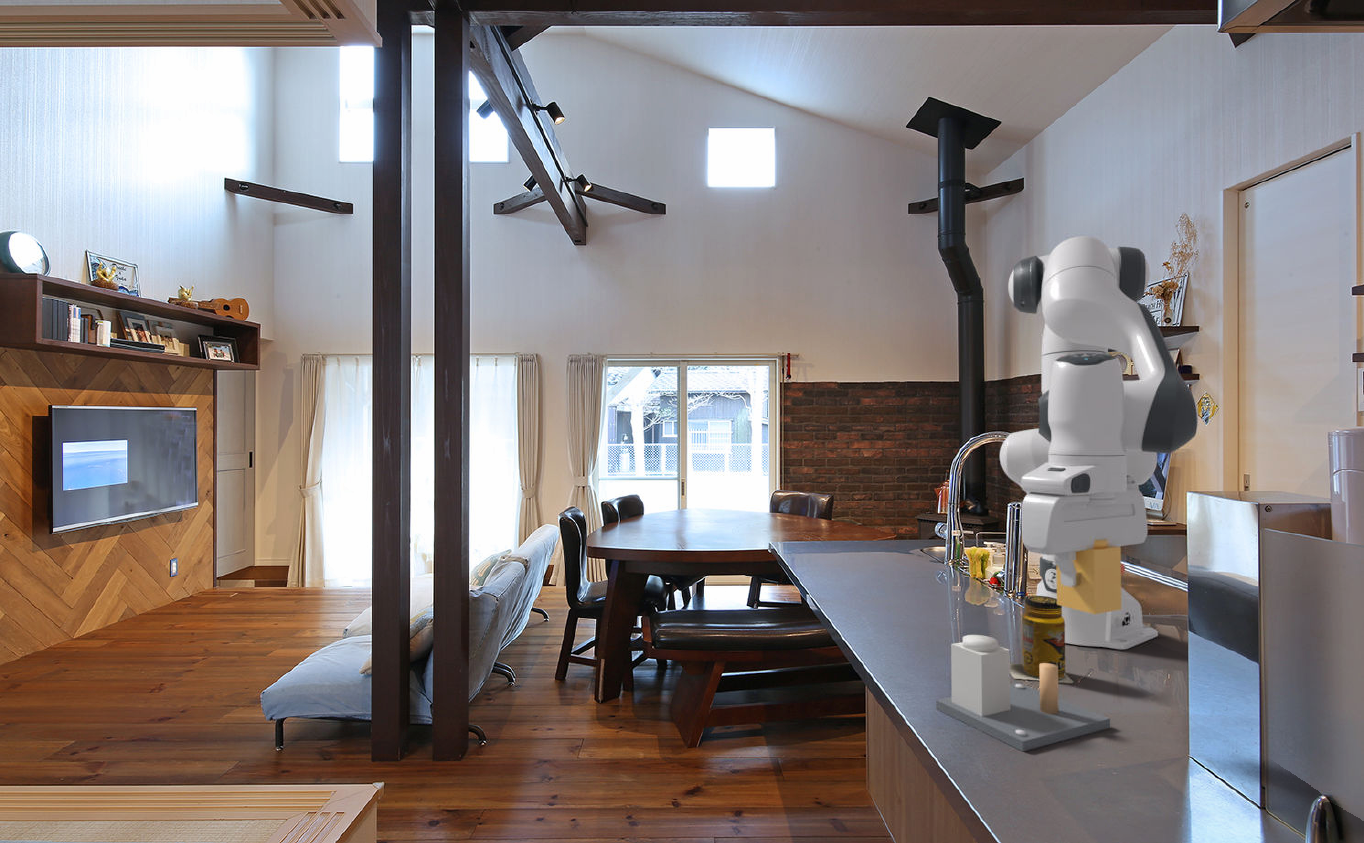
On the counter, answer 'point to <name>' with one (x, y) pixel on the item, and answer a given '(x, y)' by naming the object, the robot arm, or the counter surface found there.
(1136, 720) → the counter surface
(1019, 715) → the plate
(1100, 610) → the yellow knob block
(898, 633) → the counter surface
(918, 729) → the counter surface
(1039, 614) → the condiment
